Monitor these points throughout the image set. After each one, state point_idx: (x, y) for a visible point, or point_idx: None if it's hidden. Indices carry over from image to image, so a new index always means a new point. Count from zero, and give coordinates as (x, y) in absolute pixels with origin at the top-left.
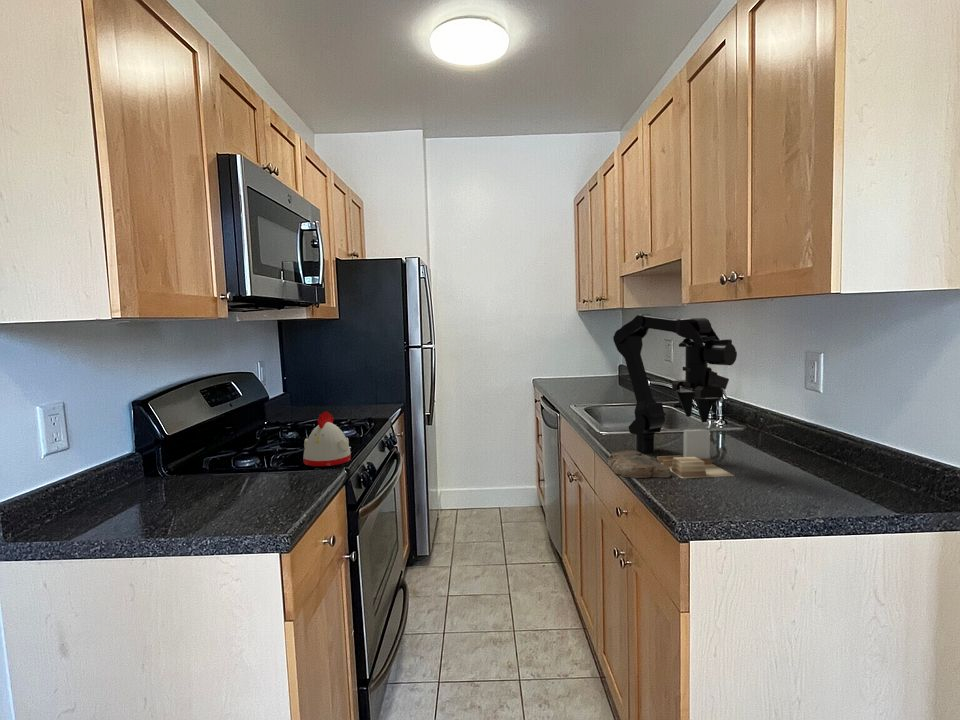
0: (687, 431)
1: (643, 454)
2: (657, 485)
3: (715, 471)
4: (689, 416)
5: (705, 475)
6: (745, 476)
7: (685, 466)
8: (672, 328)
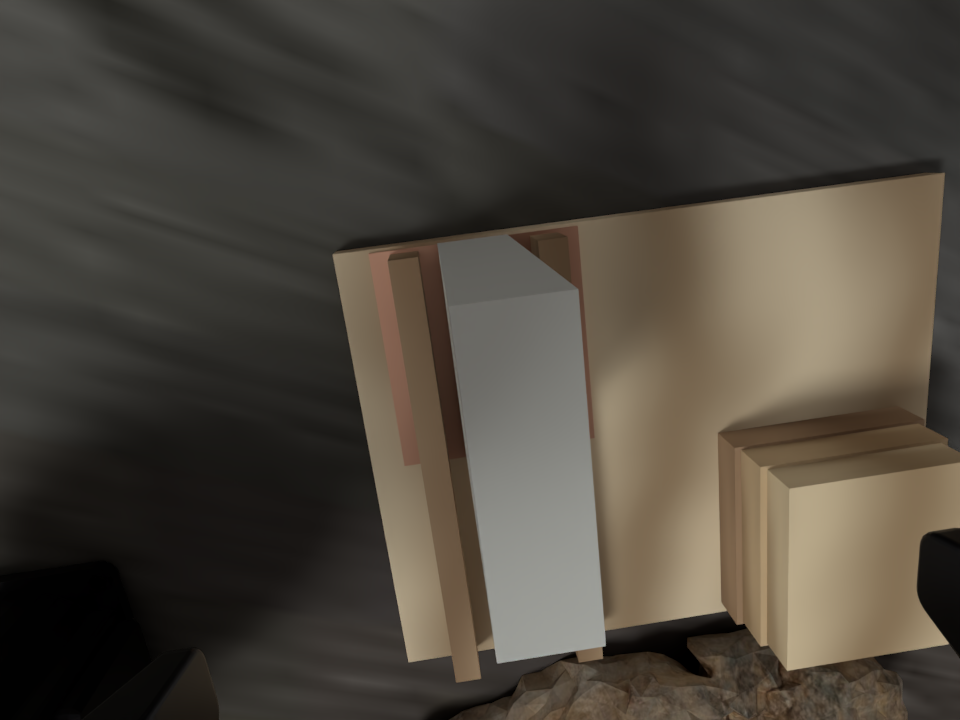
0: (601, 633)
1: None
2: (946, 714)
3: (795, 288)
4: (204, 667)
5: (900, 409)
6: (872, 44)
7: None
8: None
